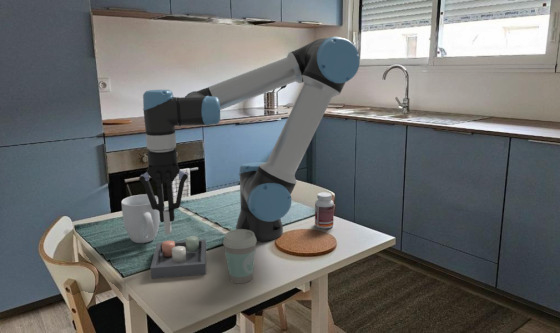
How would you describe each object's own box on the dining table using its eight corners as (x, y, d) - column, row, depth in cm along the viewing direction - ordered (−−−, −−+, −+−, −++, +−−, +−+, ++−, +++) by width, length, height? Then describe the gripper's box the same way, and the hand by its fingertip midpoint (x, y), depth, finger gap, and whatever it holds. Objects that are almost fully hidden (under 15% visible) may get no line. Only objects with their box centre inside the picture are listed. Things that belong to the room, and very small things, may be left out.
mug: (171, 245, 135) (168, 204, 132) (134, 254, 129) (130, 211, 126) (155, 229, 147) (152, 192, 144) (121, 237, 141) (117, 198, 138)
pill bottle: (337, 225, 149) (338, 194, 147) (325, 230, 145) (325, 198, 143) (323, 220, 154) (323, 190, 151) (311, 225, 150) (311, 194, 147)
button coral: (176, 250, 128) (175, 240, 127) (175, 255, 125) (174, 245, 124) (163, 251, 128) (162, 241, 127) (161, 256, 124) (161, 246, 123)
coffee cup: (244, 289, 110) (243, 244, 107) (217, 280, 114) (215, 237, 111) (264, 275, 117) (263, 232, 114) (237, 267, 121) (236, 225, 118)
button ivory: (186, 256, 122) (185, 245, 122) (185, 262, 119) (185, 251, 118) (173, 257, 122) (172, 246, 121) (172, 263, 118) (171, 252, 118)
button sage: (199, 246, 129) (198, 235, 128) (198, 251, 125) (198, 240, 125) (186, 246, 128) (185, 236, 127) (185, 252, 125) (185, 241, 124)
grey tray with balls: (206, 248, 133) (205, 239, 132) (206, 274, 117) (205, 263, 117) (157, 252, 131) (157, 242, 130) (151, 278, 115) (150, 268, 115)
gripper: (187, 145, 122) (192, 225, 128) (138, 147, 121) (146, 228, 127) (185, 151, 115) (191, 236, 121) (133, 153, 114) (142, 239, 119)
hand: (168, 232), depth 124 cm, fingers closed
